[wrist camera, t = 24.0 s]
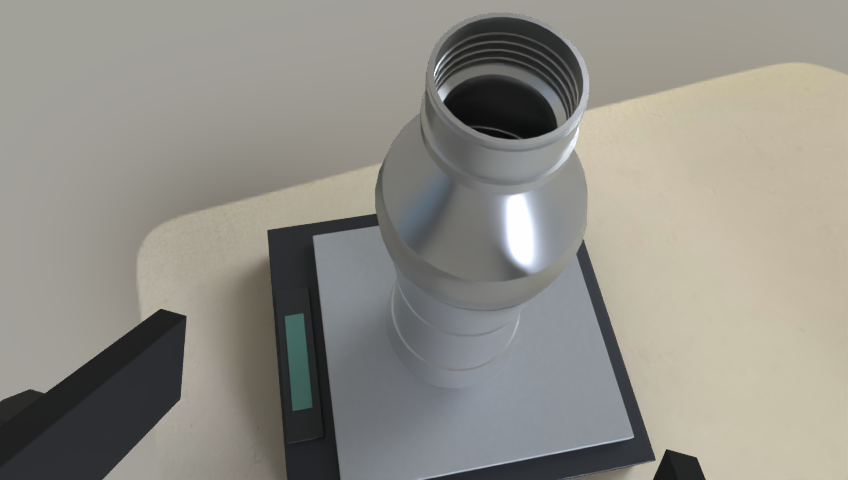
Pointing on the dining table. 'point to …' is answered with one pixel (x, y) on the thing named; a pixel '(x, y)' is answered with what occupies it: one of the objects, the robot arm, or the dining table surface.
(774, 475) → the dining table surface
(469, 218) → the silver aluminium bottle
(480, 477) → the scale
